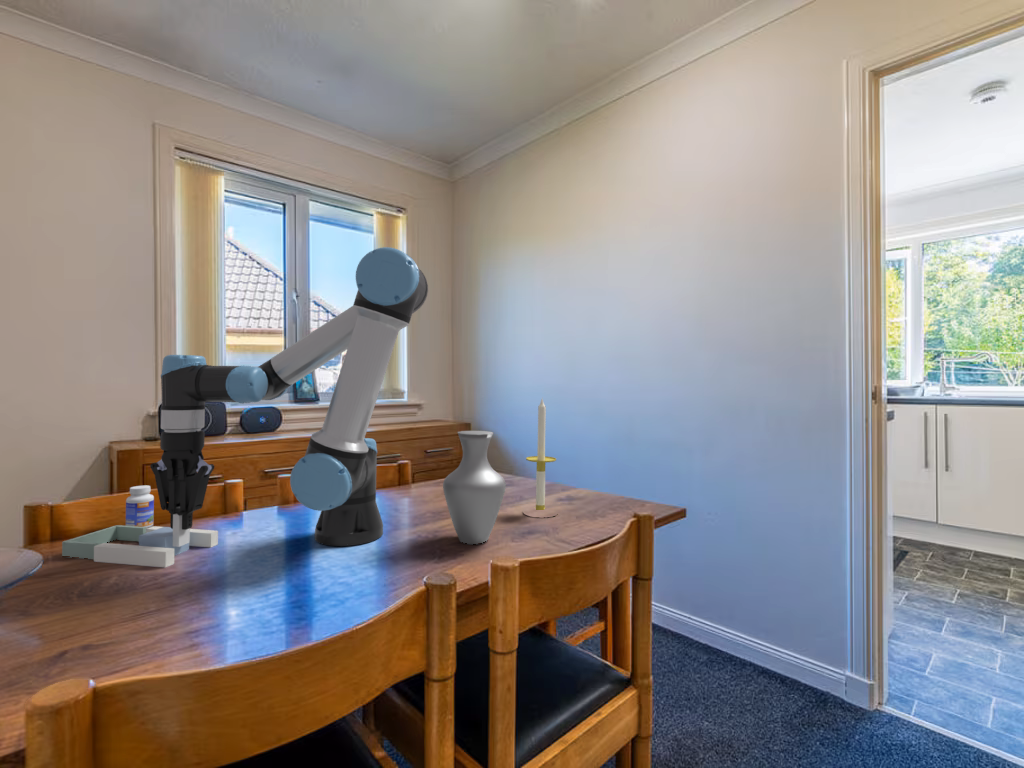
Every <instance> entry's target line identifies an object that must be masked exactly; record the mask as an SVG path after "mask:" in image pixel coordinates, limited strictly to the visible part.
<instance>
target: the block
mask: <svg viewBox="0 0 1024 768" xmlns="http://www.w3.org/2000/svg"><path fill="white" fill-rule="evenodd" d="M161 527H162V528H159V529H157V530H154V531H151V532H148V533H145V534H142V535H139V541H138V546H149V547H162V548H174V557H175V556H177V555H179V554H182V553H184V552H187V551H189V550H190V546H189V543H187V544H185V545H182V546H180V547H174V546H173V529H171V526H170V527H169V526H161Z"/></svg>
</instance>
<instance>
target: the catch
mask: <svg viewBox="0 0 1024 768" xmlns="http://www.w3.org/2000/svg"><path fill="white" fill-rule="evenodd" d="M146 529H147V528H146V527H136V526H126V525H121V524H117V525H113V526H110V527H107V528H103V529H99V530H96V531H94V532H90V533H87V534H83V535H80V536H76V537H74V538H70V539H67V540H64V541H62V544H61V557H62V556H70V557H69V558H72V557H79V558H78V559H84V558H88V559H87V560H94V546H96V545H99V544H102V543H107V542H108V543H111V542H114V541H118V540H119V541H126V542H127V541H129V542H139V535H142V534H145V533H146ZM116 539H117V540H116ZM113 540H114V541H113ZM110 541H111V542H110Z"/></svg>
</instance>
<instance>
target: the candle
mask: <svg viewBox="0 0 1024 768" xmlns="http://www.w3.org/2000/svg"><path fill="white" fill-rule="evenodd" d="M537 410H538V411H537V413H538V414H537V455H534V456H527V457H525V459H526V461H528V462H532V463H536V473H535V476H536V478H535V480H536V481H535V483H536V484H535V486H536V488H535V508H536V510H544V509H545V508H546V505H545V504H546V463H554V462H557V458H556V457H553V456H546V422H547V421H546V420H547V418H546V417H547V416H546V414H547V413H546V412H547V409H546V405H545V402H544V399H543V398H541V400H540V403H539V404H538V409H537Z"/></svg>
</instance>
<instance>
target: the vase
mask: <svg viewBox="0 0 1024 768" xmlns="http://www.w3.org/2000/svg"><path fill="white" fill-rule="evenodd" d="M457 435H458V438H459V441H460V444H461V447H462V457H461V461H460V463H459V465H458V467H457V468H456V469H455V470H453V471H452V472H450V473H449V474H448V475H447V476H446V477H445V479H444V480H443V483H442V489H443V495H444V498H445V502H446V505H447V509H448V513H449V516H450V518H451V519H450V520H451V523H452V525H453V528H454V530H455V532H456V535H457V537H458V540H459V542H460V543H462V542H463V543H462V544H465V543H467V544H466V545H473V544H476V545H479V544H478V543H482V544H484V543H483V542H485V541H486V542H488V541H489V538H490V535H491V533H492V531H493V529H494V526H495V524H496V521H497V519H498V514H499V513H500V509H501V505H502V502H503V500H504V496H505V492H506V486H507V485H506V481H505V478H504V477H503V475H501V474H500V473H498V472H497V471H496V470H494V469H493V467H492V466H491V464H490V462H489V460H488V448H489V445H490V442H491V440H492V437H493V435H494V432H492V431H487V430H461V431H457ZM487 540H488V541H487ZM486 542H485V543H486Z"/></svg>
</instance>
